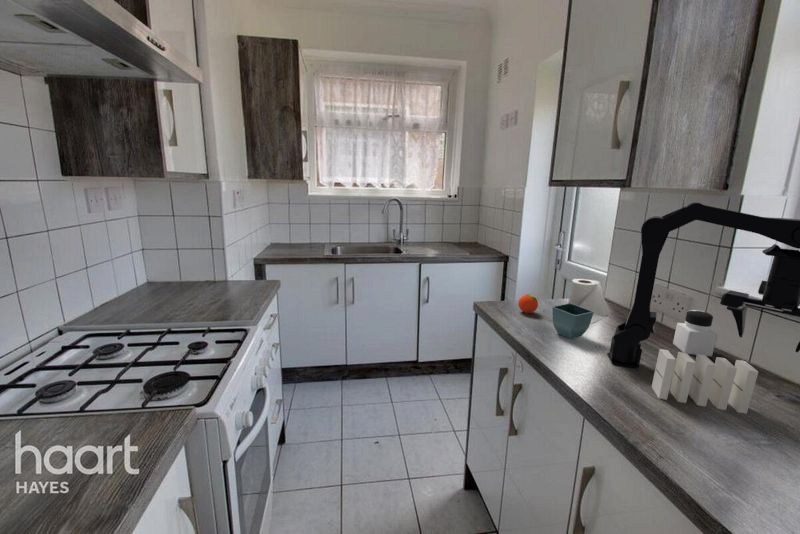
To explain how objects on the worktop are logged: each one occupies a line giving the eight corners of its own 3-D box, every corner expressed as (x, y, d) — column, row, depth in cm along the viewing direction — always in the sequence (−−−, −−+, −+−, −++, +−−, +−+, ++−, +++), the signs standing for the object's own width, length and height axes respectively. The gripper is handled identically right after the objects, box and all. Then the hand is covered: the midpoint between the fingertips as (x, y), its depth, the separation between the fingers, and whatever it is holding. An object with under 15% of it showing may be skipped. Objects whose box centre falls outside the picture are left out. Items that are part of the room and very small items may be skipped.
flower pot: (571, 343, 112) (575, 315, 110) (548, 332, 120) (551, 306, 118) (590, 338, 116) (594, 311, 114) (566, 328, 124) (570, 302, 122)
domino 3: (697, 405, 82) (707, 364, 80) (687, 393, 87) (696, 354, 84) (705, 406, 81) (716, 365, 79) (695, 394, 86) (705, 355, 84)
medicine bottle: (712, 357, 106) (722, 317, 103) (684, 354, 107) (693, 315, 104) (698, 346, 113) (707, 309, 110) (672, 343, 114) (680, 307, 111)
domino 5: (737, 412, 80) (748, 370, 78) (725, 399, 84) (736, 359, 82) (746, 413, 79) (758, 371, 77) (734, 401, 84) (745, 361, 82)
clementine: (542, 313, 137) (544, 294, 136) (536, 318, 132) (538, 299, 130) (521, 308, 142) (523, 290, 140) (514, 312, 137) (516, 294, 135)
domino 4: (716, 408, 81) (727, 367, 79) (706, 396, 86) (716, 357, 83) (725, 410, 80) (737, 368, 78) (714, 397, 85) (725, 358, 83)
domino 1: (658, 398, 84) (667, 358, 82) (651, 387, 89) (659, 348, 86) (666, 399, 84) (675, 359, 81) (659, 388, 88) (667, 350, 86)
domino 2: (677, 401, 83) (686, 361, 81) (669, 390, 88) (677, 351, 85) (686, 403, 83) (695, 362, 80) (677, 391, 87) (686, 352, 85)
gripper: (854, 282, 78) (831, 350, 82) (738, 264, 92) (723, 323, 96) (853, 291, 71) (828, 364, 75) (728, 270, 85) (712, 333, 89)
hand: (767, 344), depth 84 cm, fingers open, 9 cm apart
